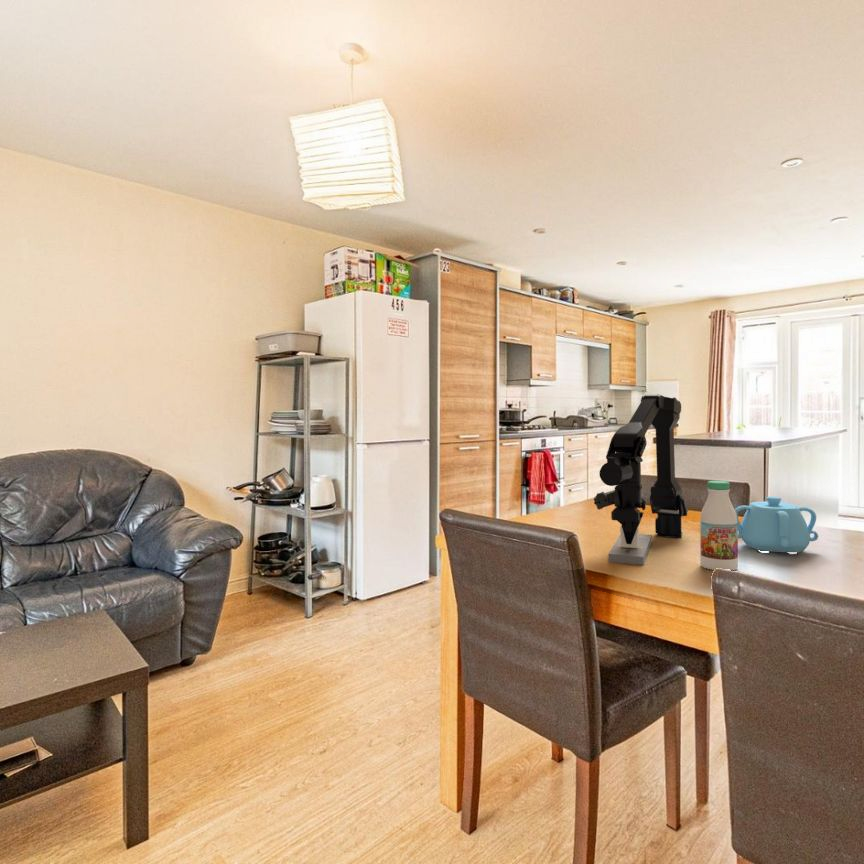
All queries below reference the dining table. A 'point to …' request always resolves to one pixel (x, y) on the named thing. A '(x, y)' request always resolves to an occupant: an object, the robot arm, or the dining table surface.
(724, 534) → the milk bottle
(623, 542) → the fader cap
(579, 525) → the dining table surface
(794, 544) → the decorative pot
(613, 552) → the console
